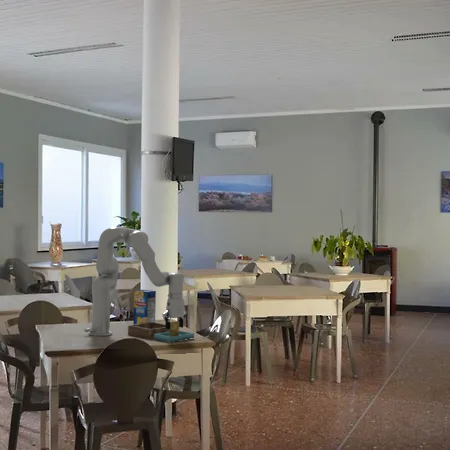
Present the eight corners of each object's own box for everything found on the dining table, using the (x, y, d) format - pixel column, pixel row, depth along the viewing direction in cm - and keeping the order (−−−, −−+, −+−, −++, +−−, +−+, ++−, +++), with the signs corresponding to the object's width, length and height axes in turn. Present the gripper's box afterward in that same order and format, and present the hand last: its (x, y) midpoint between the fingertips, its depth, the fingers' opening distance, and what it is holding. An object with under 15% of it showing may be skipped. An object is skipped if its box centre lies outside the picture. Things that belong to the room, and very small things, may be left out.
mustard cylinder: (174, 337, 336) (174, 322, 336) (167, 336, 339) (168, 321, 339) (180, 336, 340) (181, 321, 340) (174, 335, 343) (174, 320, 343)
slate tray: (170, 343, 329) (170, 337, 329) (154, 339, 337) (154, 334, 337) (193, 338, 343) (194, 333, 343) (178, 335, 350) (178, 330, 350)
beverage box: (146, 330, 367) (147, 291, 367) (133, 327, 373) (134, 290, 373) (154, 328, 372) (156, 291, 372) (141, 326, 379) (142, 289, 379)
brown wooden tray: (150, 338, 339) (150, 329, 339) (127, 334, 350) (128, 325, 350) (174, 335, 352) (174, 326, 352) (151, 330, 364) (152, 322, 364)
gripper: (168, 297, 331) (167, 330, 331) (191, 295, 344) (190, 327, 344) (158, 296, 336) (157, 328, 336) (181, 294, 349) (180, 325, 349)
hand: (174, 328), depth 340 cm, fingers open, 9 cm apart
